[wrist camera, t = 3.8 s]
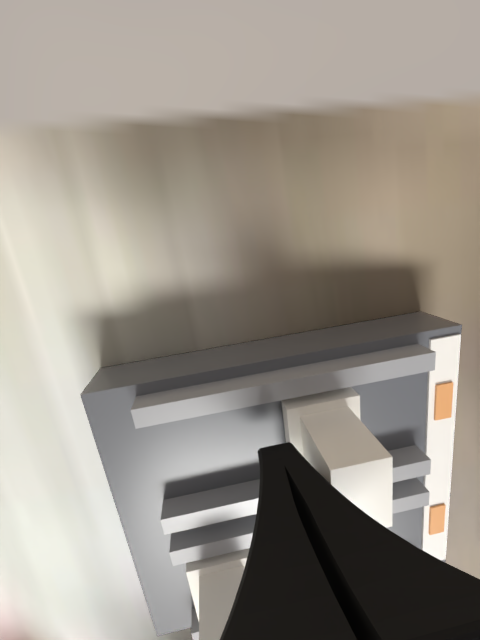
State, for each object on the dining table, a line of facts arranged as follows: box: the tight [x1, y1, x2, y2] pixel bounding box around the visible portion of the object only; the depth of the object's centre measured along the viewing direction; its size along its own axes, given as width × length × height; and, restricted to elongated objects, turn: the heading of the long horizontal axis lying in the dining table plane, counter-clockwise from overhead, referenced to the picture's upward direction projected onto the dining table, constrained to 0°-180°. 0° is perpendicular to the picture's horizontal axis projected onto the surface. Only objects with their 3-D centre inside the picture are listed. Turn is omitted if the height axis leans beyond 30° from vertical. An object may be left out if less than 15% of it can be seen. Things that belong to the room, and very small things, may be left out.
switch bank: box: [81, 312, 462, 640], centre depth 15 cm, size 16×14×4 cm
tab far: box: [186, 548, 250, 640], centre depth 13 cm, size 3×4×4 cm
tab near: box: [281, 387, 393, 528], centre depth 11 cm, size 3×4×4 cm
